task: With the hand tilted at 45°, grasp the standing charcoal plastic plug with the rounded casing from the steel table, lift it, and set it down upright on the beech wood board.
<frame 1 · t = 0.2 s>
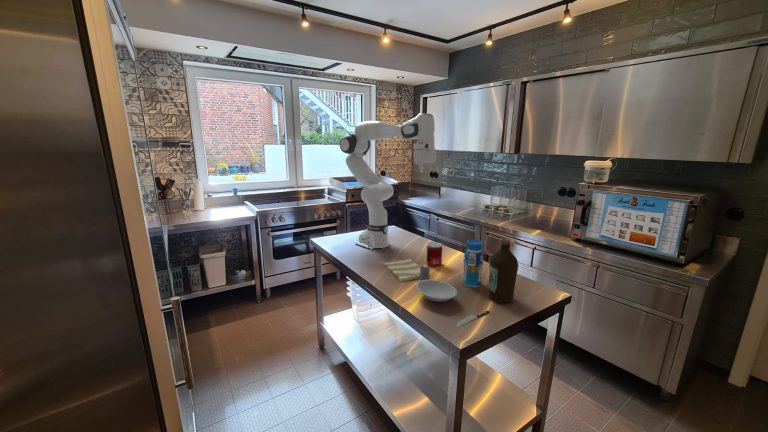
hand: (425, 171, 161), 48 cm above the table, fingers open, 8 cm apart
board: (406, 271, 150), on the table
canned food: (434, 264, 159), on the table
dish: (435, 299, 123), on the table
olive oil: (500, 298, 123), on the table
plug: (424, 284, 136), on the table
chef's knife: (469, 319, 109), on the table
beverage bottle: (471, 284, 136), on the table
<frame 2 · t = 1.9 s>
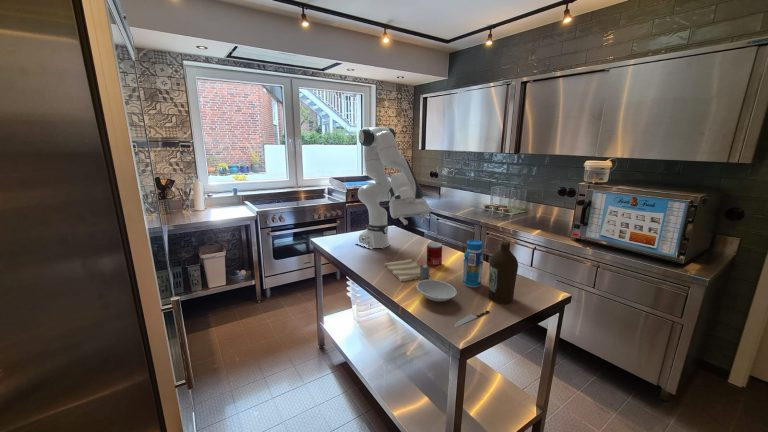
hand: (415, 223, 142), 26 cm above the table, fingers open, 8 cm apart
nothing on the table moved.
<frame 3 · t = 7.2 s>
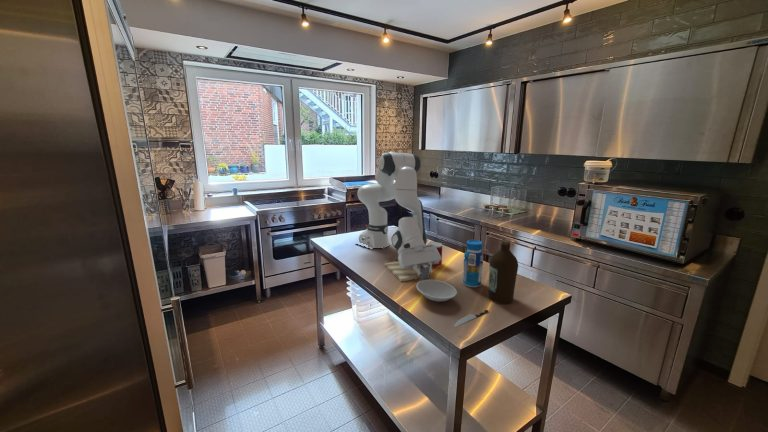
hand: (425, 273, 135), 5 cm above the table, fingers closed on plug, 4 cm apart
plug: (424, 284, 136), on the table, touching gripper
everything else where it was.
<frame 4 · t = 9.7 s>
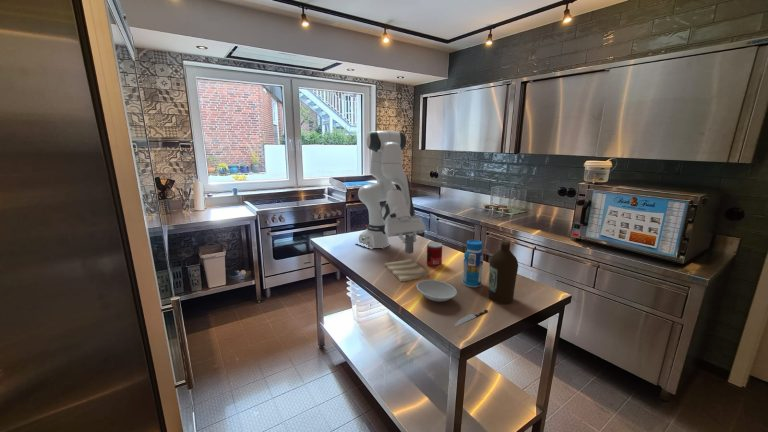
hand: (409, 242, 143), 17 cm above the table, fingers closed on plug, 4 cm apart
plug: (409, 251, 144), point 11 cm above the table, touching gripper
everything else where it was.
when the fingers open (8 cm above the table, at t = 12.5 s): plug drops 1 cm, resting on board.
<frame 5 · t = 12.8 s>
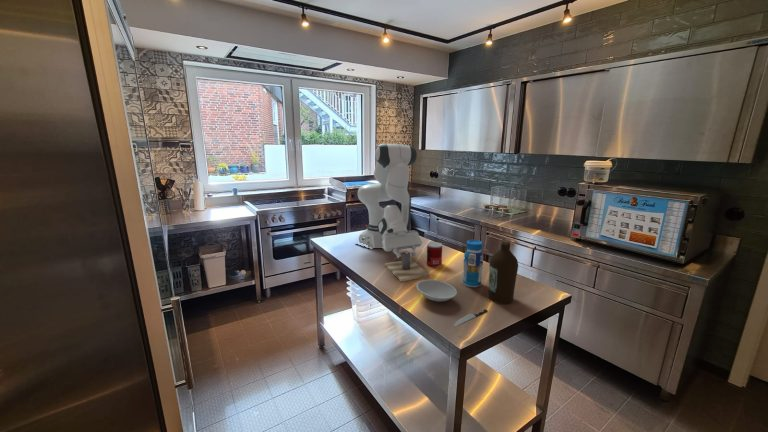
hand: (406, 256, 148), 8 cm above the table, fingers open, 7 cm apart
plug: (406, 268, 150), point 1 cm above the table, touching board
everything else where it was.
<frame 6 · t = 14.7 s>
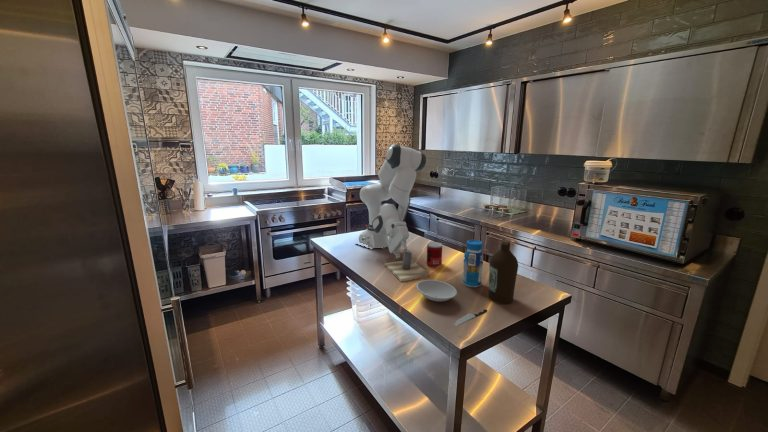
hand: (401, 254, 152), 8 cm above the table, fingers open, 8 cm apart
plug: (406, 267, 150), point 2 cm above the table, tilted 8°, touching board, gripper
everything else where it was.
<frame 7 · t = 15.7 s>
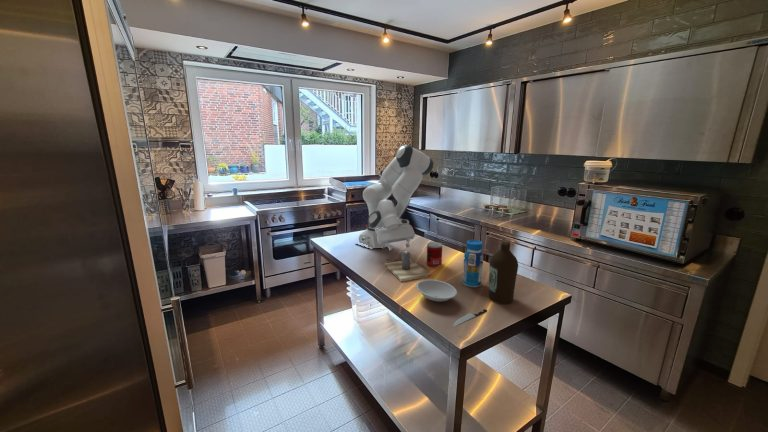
hand: (399, 248, 155), 10 cm above the table, fingers open, 8 cm apart
plug: (406, 268, 150), point 2 cm above the table, touching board
everything else where it was.
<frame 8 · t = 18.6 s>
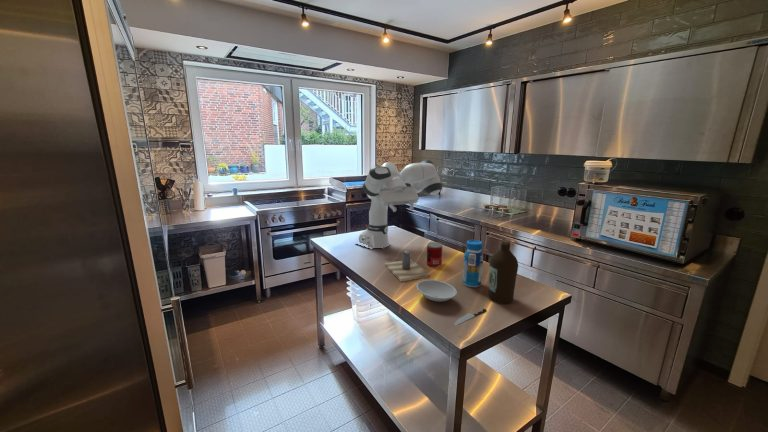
hand: (403, 210, 152), 29 cm above the table, fingers open, 8 cm apart
at the end: plug inside the target area on the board (0.1 cm from its centre), point 1.5 cm above the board's base; plug tilted 0°; the gripper is holding nothing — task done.
